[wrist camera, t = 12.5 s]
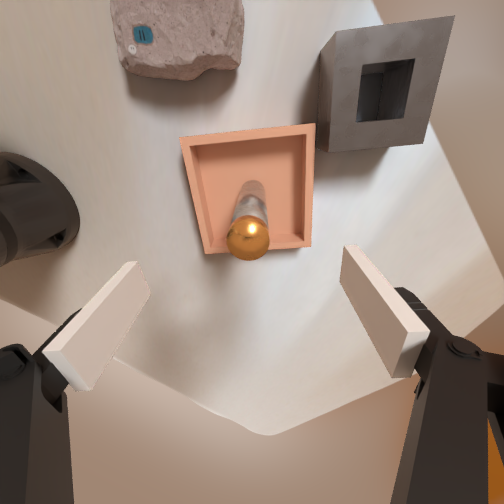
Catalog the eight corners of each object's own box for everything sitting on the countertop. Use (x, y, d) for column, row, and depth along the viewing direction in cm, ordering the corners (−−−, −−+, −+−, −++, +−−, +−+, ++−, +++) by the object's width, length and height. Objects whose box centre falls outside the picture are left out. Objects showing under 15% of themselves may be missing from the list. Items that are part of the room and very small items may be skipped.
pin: (241, 205, 34) (229, 261, 20) (239, 181, 32) (223, 223, 18) (265, 203, 33) (270, 259, 19) (264, 178, 32) (268, 219, 18)
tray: (209, 243, 37) (205, 254, 34) (187, 136, 30) (179, 137, 27) (306, 236, 36) (310, 246, 33) (309, 123, 29) (315, 123, 26)
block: (316, 148, 30) (328, 152, 25) (320, 51, 25) (336, 31, 20) (393, 140, 29) (422, 143, 24) (413, 39, 25) (455, 15, 19)
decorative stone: (133, 78, 27) (104, 67, 22) (116, -40, 22) (74, -89, 17) (243, 88, 27) (239, 79, 22) (248, -27, 23) (245, -72, 18)
